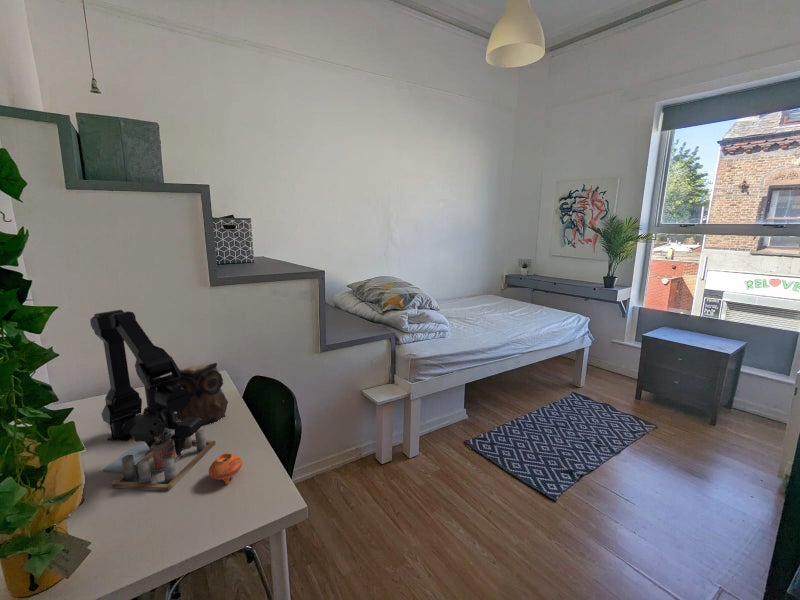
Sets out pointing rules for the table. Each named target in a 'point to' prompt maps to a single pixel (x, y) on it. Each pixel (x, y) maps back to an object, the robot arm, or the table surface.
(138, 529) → the table surface
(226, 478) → the pot
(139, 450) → the mat
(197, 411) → the owl
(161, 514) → the table surface
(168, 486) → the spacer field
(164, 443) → the lighter
